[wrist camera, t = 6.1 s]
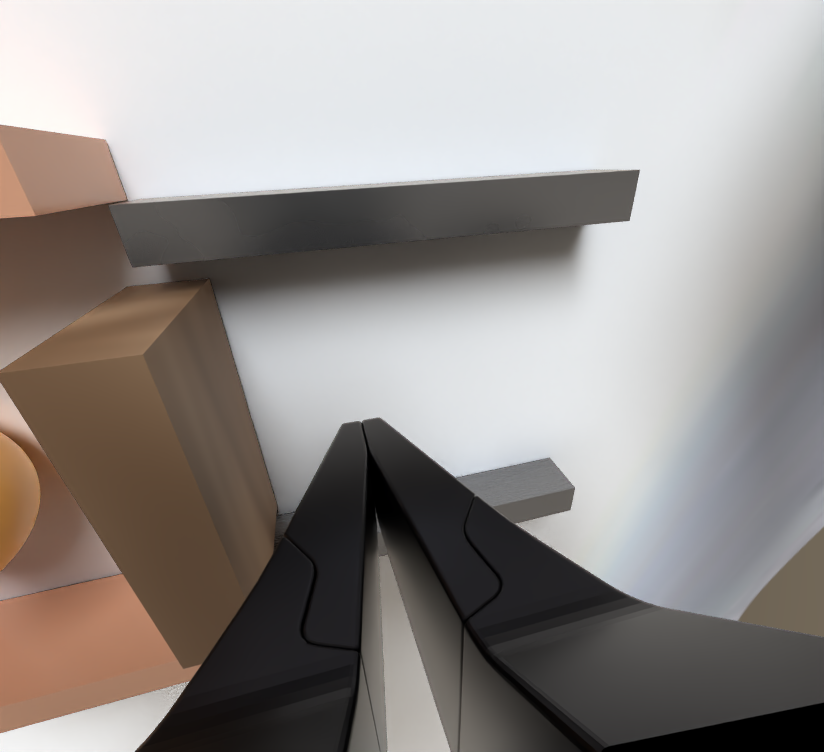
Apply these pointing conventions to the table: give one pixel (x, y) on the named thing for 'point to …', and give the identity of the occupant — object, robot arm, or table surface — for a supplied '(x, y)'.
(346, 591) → the robot arm
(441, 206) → the track
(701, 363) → the table surface
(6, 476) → the ball
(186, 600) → the brown wooden block
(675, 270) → the table surface
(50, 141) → the pocket
